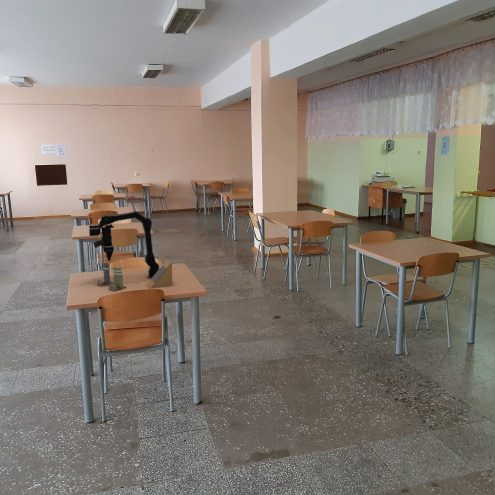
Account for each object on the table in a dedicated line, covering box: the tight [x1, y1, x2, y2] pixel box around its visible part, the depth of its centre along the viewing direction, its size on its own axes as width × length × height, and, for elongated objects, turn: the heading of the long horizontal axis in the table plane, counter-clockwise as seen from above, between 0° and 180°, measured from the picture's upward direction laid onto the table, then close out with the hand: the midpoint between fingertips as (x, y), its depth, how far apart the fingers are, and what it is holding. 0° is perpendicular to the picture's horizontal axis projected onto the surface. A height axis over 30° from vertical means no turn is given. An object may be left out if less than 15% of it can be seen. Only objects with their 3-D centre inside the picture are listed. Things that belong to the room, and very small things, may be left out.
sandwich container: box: [144, 259, 174, 290], centre depth 291 cm, size 9×15×15 cm, turn 118°
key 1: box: [102, 262, 111, 284], centre depth 295 cm, size 3×5×12 cm, turn 31°
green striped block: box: [112, 266, 124, 288], centre depth 286 cm, size 3×5×12 cm, turn 57°
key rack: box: [96, 279, 127, 292], centre depth 291 cm, size 10×22×3 cm, turn 45°
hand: (108, 259), depth 299 cm, fingers open, 9 cm apart
